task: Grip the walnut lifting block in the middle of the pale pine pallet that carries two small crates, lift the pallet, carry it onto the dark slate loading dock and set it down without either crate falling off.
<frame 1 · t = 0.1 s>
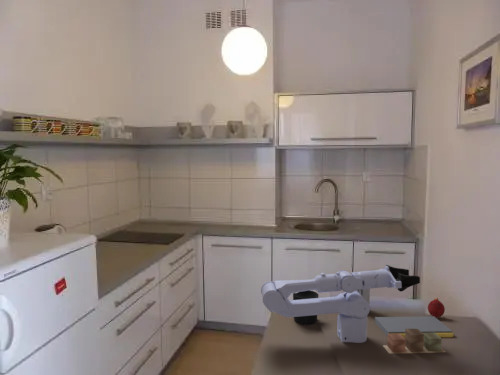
hand: (413, 276, 124), 22 cm above the table, tool horizontal, fingers open, 7 cm apart
dock: (411, 330, 132), on the table
energy drink can: (361, 311, 149), on the table
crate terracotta: (396, 348, 117), point 1 cm above the table
onion: (435, 318, 142), on the table
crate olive: (431, 348, 118), point 1 cm above the table, touching pallet
pen holder: (305, 320, 141), on the table
pallet: (413, 353, 118), on the table, touching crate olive
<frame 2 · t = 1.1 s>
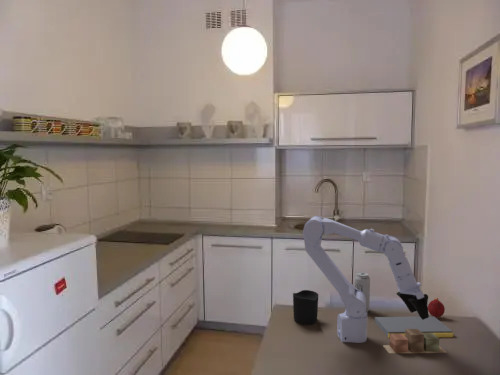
hand: (419, 314, 118), 11 cm above the table, tool tilted 20°, fingers open, 7 cm apart
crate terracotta: (398, 349, 117), point 1 cm above the table, touching pallet
pallet: (413, 353, 118), on the table, touching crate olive, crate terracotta
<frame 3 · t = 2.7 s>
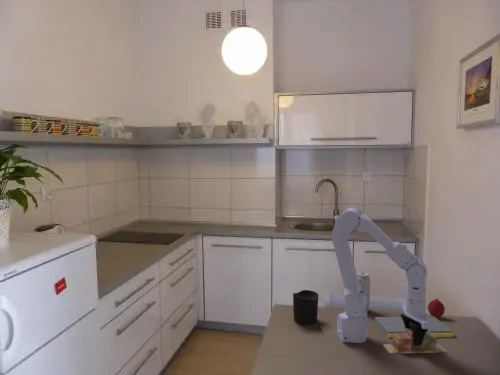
hand: (414, 341, 118), 3 cm above the table, tool pointing down, fingers closed on pallet, 4 cm apart
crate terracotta: (401, 348, 117), point 1 cm above the table, touching pallet
pallet: (414, 352, 118), on the table, touching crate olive, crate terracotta, gripper
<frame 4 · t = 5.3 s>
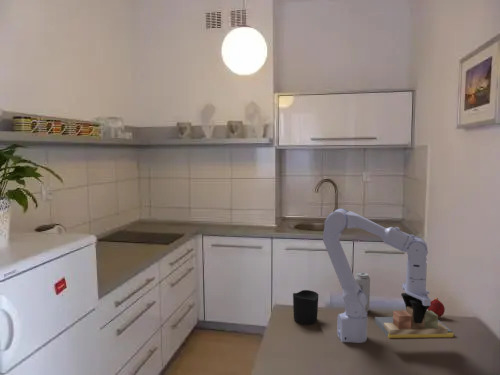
hand: (414, 319, 117), 10 cm above the table, tool pointing down, fingers closed on pallet, 4 cm apart
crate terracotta: (401, 325, 117), point 8 cm above the table, touching pallet
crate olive: (427, 325, 117), point 8 cm above the table, touching pallet
pallet: (415, 330, 117), point 7 cm above the table, touching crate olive, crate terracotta, gripper
everything else where it was.
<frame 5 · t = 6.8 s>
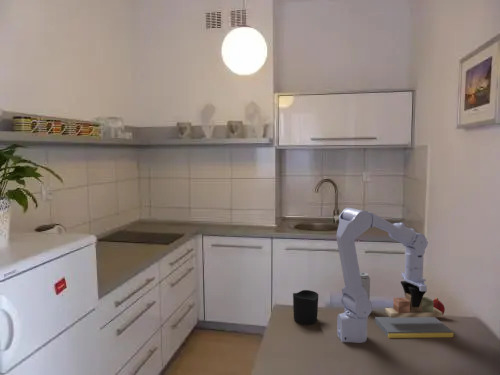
hand: (412, 304, 131), 9 cm above the table, tool pointing down, fingers closed on pallet, 4 cm apart
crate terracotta: (401, 310, 131), point 7 cm above the table, touching pallet
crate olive: (424, 310, 131), point 7 cm above the table, touching pallet
pallet: (413, 314, 131), point 6 cm above the table, touching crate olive, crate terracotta, gripper
everything else where it was.
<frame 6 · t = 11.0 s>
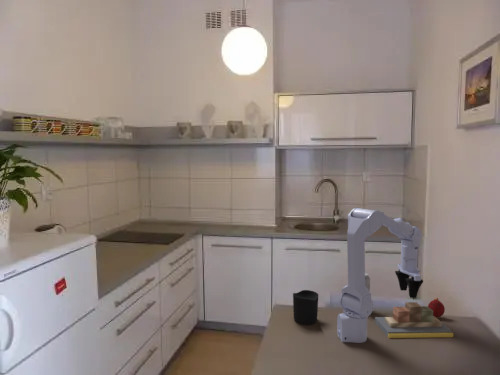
hand: (408, 293, 139), 10 cm above the table, tool pointing down, fingers open, 7 cm apart
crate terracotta: (401, 320, 131), point 4 cm above the table, touching pallet
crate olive: (424, 319, 132), point 4 cm above the table, touching pallet
pallet: (412, 323, 132), point 2 cm above the table, touching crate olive, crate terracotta, dock
everything else where it was.
at the end: pallet inside the target area on the dock (0.2 cm from its centre), point 2.5 cm above the dock's base; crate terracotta inside the target area on the pallet (4.4 cm from its centre), point 1.5 cm above the pallet's base; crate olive inside the target area on the pallet (4.0 cm from its centre), point 1.5 cm above the pallet's base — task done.
